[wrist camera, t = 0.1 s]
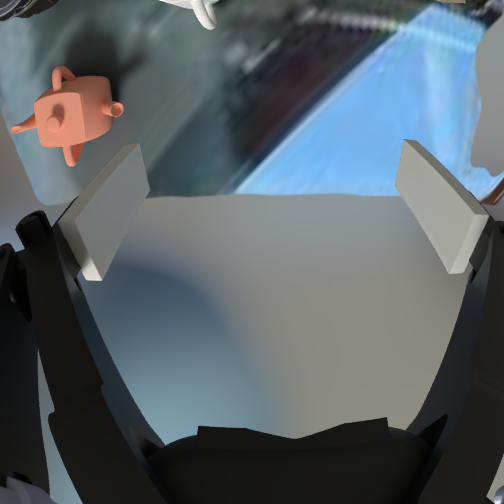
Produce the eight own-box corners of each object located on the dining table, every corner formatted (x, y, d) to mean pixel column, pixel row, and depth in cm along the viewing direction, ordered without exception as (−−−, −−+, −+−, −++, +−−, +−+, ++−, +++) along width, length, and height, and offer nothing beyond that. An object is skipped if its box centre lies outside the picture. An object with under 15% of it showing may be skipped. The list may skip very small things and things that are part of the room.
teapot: (95, 44, 30) (55, 53, 22) (144, 97, 36) (114, 117, 29) (45, 109, 36) (6, 132, 28) (88, 155, 42) (56, 186, 34)
